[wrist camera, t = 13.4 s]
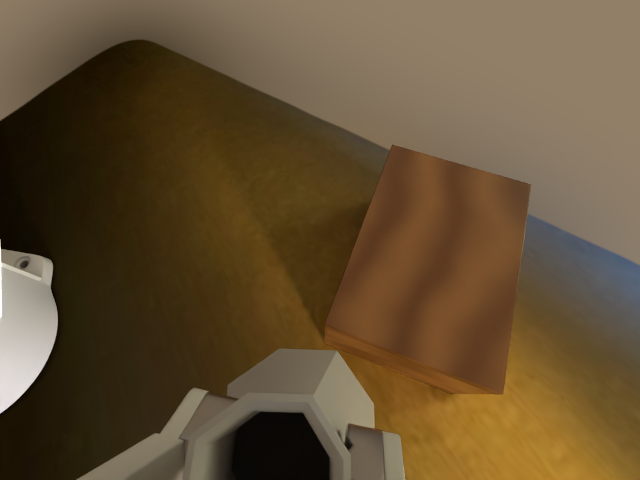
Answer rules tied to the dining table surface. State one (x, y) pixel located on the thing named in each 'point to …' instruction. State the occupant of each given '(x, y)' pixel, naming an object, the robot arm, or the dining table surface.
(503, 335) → the shelf
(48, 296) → the robot arm
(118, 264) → the dining table surface
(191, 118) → the dining table surface
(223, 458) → the flask
